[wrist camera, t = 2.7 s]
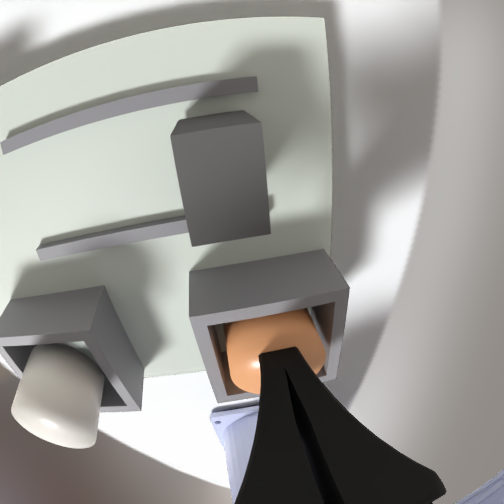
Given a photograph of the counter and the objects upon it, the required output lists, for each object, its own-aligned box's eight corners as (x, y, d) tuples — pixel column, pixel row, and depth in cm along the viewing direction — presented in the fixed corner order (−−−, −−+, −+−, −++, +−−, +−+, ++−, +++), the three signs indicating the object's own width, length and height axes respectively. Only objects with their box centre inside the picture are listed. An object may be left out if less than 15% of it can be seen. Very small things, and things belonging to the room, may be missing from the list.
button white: (117, 392, 12) (111, 449, 10) (55, 393, 12) (44, 444, 9) (82, 339, 10) (65, 404, 8) (16, 344, 10) (-6, 399, 8)
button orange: (303, 334, 15) (322, 383, 12) (228, 348, 14) (236, 400, 12) (304, 273, 13) (329, 323, 10) (216, 289, 12) (222, 345, 10)
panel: (312, 322, 17) (340, 386, 14) (34, 358, 16) (15, 415, 12) (305, 25, 10) (361, 4, 6) (-67, 136, 8) (-126, 167, 4)
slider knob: (252, 192, 10) (270, 234, 8) (192, 202, 10) (191, 247, 8) (243, 110, 9) (261, 122, 6) (178, 119, 9) (169, 136, 6)
